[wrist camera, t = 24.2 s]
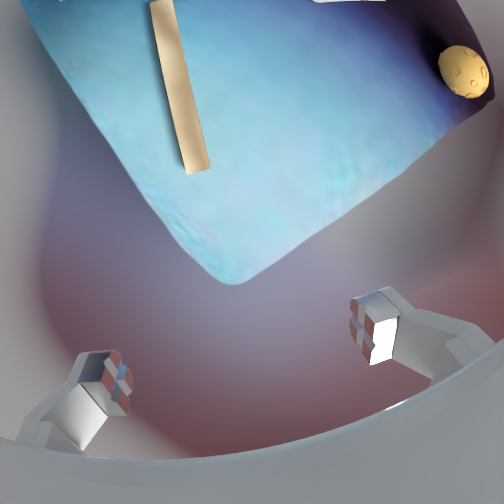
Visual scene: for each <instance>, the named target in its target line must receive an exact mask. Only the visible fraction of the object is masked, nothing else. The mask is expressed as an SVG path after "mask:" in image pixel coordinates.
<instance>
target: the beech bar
mask: <svg viewBox="0 0 504 504" xmlns="http://www.w3.org/2000/svg"><path fill="white" fill-rule="evenodd" d="M150 9H151V15H152V20H153V26H154V31H155V37H156V42H157V47H158V52H159V57H160V62H161V67H162V72H163V76H164V81H165V86H166V90H167V95H168V99H169V103H170V108H171V112H172V116H173V121H174V125H175V129H176V133H177V137H178V141H179V145H180V149H181V153H182V157H183V161H184V165H185V169H186V173H187V175H188V174H192V173H196V172H199V171H203V170H207V169H210V163H209V159H208V155H207V151H206V147H205V143H204V138H203V134H202V130H201V126H200V122H199V117H198V113H197V109H196V105H195V100H194V96H193V92H192V87H191V83H190V78H189V74H188V69H187V65H186V60H185V56H184V51H183V47H182V42H181V37H180V33H179V28H178V23H177V19H176V14H175V9H174V4H173V1H172V0H157V1H154V2H151V3H150Z"/></svg>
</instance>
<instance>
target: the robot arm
mask: <svg viewBox="0 0 504 504" xmlns="http://www.w3.org/2000/svg"><path fill="white" fill-rule="evenodd" d="M312 1H314V2H318V3H321V2H334V1H359V0H312ZM370 1H385V0H370ZM350 310H351V312H352V313H353V315H352V317H351V318H350V331H351V335H352V338H353V340H354V341H355V343H356V344H357V345H359V346H362V354H363V355H364V357H365V358H366V360H367V361H368V363H369V364H370V365H373V364H375V363H378V362H381V361H384V360H386V359H389V358H391V357H392V359H394V360H396V361H398V362H399V363H401V364H403V365H405V366H407V367H409V368H411V369H413V370H415V371H417V372H419V373H421V374H423V375H424V376H427V377H429V378H431V379H432V382H431V384H430V386H429V388H428V389H426V390H424V391H422V392H420V393H419V394H417V395H415V396H413V397H411V398H409V399H407V400H405V401H403V402H401V403H399V404H396V405H395V406H392V407H390V408H388V409H385V410H383V411H381V412H378V413H376V414H374V415H371V416H369V417H366V418H364V419H361V420H359V421H356V422H354V423H351V424H348V425H345V426H343V427H340V428H337V429H334V430H331V431H328V432H325V433H321V434H318V435H315V436H311V437H308V438H305V439H301V440H297V441H293V442H289V443H285V444H281V445H277V446H272V447H267V448H263V449H257V450H253V451H247V452H241V453H234V454H227V455H220V456H211V457H202V458H189V459H173V460H172V459H170V460H130V459H113V458H101V457H92V456H88V455H87V454H86V453H84V452H83V450H84V449H85V447H86V446H87V444H88V443H89V442H90V440H91V439H92V438H93V436H94V435H95V434H96V432H97V430H99V428H100V427H101V426H102V424H103V423H104V422H105V420H106V419H107V418H108V417H107V416H119V415H127V414H128V409H129V404H130V400H129V398H128V397H127V396H128V395H129V394H130V393H131V392H132V388H133V380H132V375H131V373H130V370H129V369H128V367H127V366H125V365H124V364H122V363H121V359H122V358H121V356H120V354H119V353H118V351H116V350H106V351H94V352H84V353H80V354H79V355H78V357H77V359H76V361H75V363H74V365H73V368H72V370H71V372H70V375H69V377H68V379H67V381H66V383H63V384H61V385H60V386H59V387H58V388H57V389H56V390H55V391H54V392H52V393H51V394H50V395H49V396H48V397H47V398H46V399H44V400H43V401H42V402H41V403H40V404H39V405H38V406H37V407H35V408H34V409H33V410H32V411H31V412H30V413H29V414H28V415H26V416H25V418H24V420H23V423H22V425H21V428H20V431H19V433H18V436H17V438H16V441H13V440H10V439H6V438H3V437H0V504H504V338H503V339H502V340H501V341H500V342H498V343H497V344H496V343H495V342H494V341H493V340H492V339H491V338H490V337H489V336H487V335H486V334H485V333H484V332H483V331H482V330H481V329H480V328H479V327H478V326H477V325H476V324H473V323H469V322H466V321H462V320H458V319H455V318H451V317H448V316H444V315H440V314H437V313H434V312H430V311H426V310H423V309H420V308H419V309H416V310H415V309H414V308H413V307H412V306H411V305H410V304H409V303H408V302H407V301H406V300H405V299H404V298H403V297H402V296H401V295H400V294H399V293H398V292H396V291H395V290H394V289H393V288H392V287H390V286H388V287H385V288H382V289H380V290H377V291H375V292H372V293H369V294H366V295H363V296H360V297H356V298H353V299H351V301H350Z"/></svg>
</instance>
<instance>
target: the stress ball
mask: <svg viewBox="0 0 504 504" xmlns="http://www.w3.org/2000/svg"><path fill="white" fill-rule="evenodd" d="M438 65H439V66H440V72H441V75H442V77H443V79H444V81H445V82H446V84H447V85H448V86H449V87H450V88H451V89H452V91H453V92H455V93H456V94H459V95H462V96H465V97H466V98H476V97H479V95H481V94H482V93H484V92H485V91H486V88H487V86H488V83H489V74H488V70H487V67H486V65H485V63H484V61H483V60H482V59H481V57H480V56H479V55H478V54H477V53H475V52H474V51H473V50H471V49H469V48H467V47H464V46H452V47H449V48H447V49H446V50H445V51H444V52H443V53H441V54H440V57H439V60H438Z"/></svg>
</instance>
